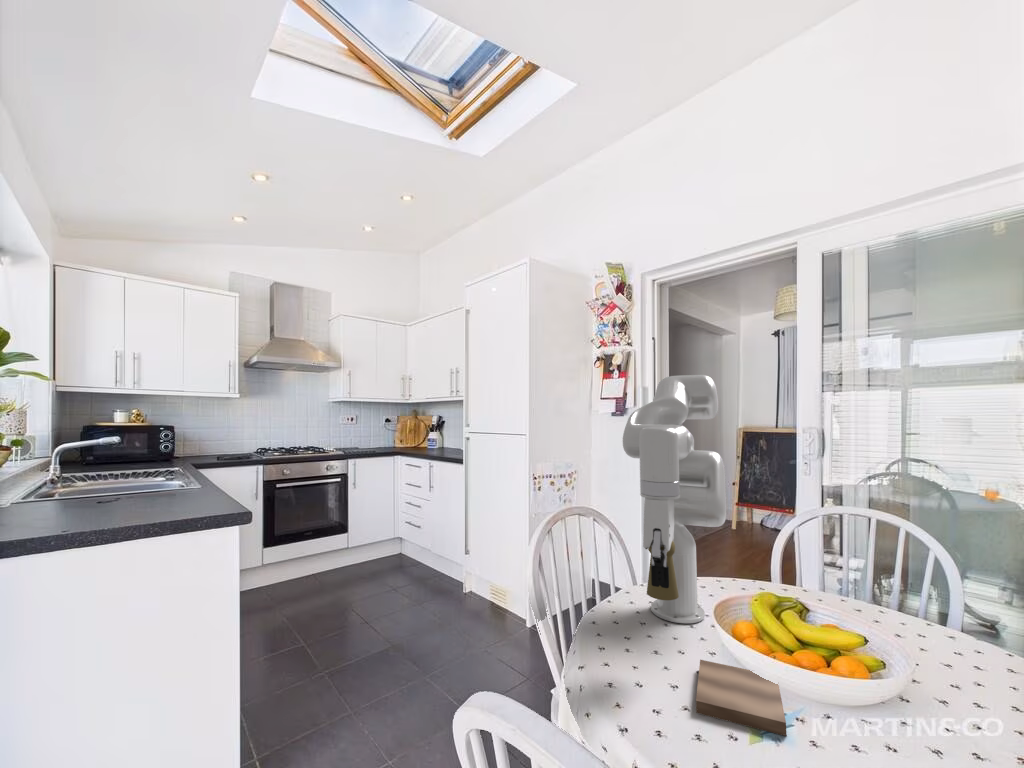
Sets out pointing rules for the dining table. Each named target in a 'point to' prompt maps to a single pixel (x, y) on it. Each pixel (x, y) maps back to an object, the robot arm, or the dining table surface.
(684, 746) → the dining table surface
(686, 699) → the dining table surface
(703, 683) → the walnut board
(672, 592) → the olive pawn
